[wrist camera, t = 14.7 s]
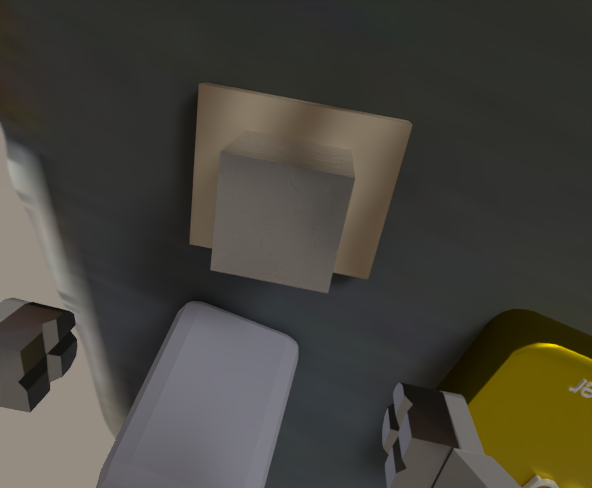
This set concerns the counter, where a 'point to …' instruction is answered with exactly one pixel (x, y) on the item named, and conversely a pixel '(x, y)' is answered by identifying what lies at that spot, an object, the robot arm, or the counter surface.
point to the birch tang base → (312, 128)
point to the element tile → (530, 398)
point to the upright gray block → (281, 209)
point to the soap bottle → (206, 406)
